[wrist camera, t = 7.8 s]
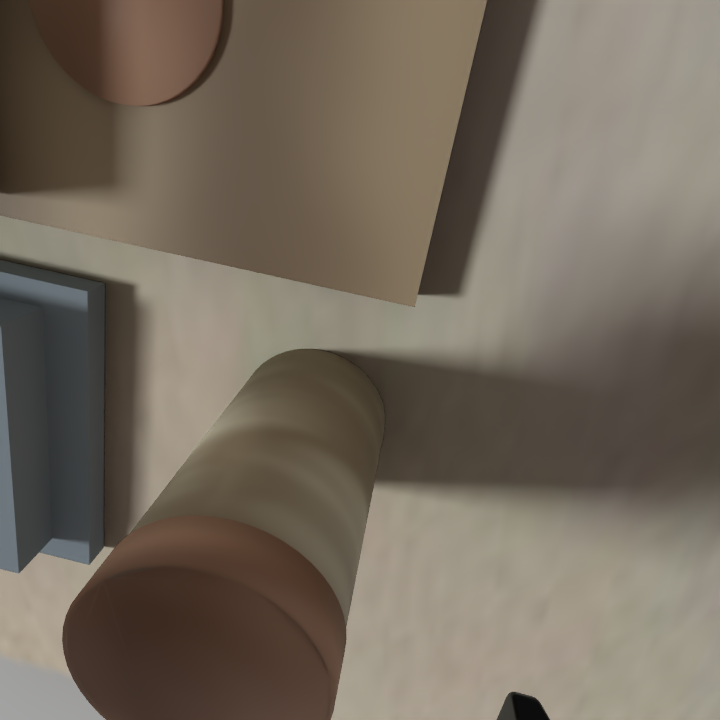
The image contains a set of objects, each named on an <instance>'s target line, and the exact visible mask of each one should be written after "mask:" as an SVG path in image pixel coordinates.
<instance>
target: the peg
mask: <svg viewBox="0 0 720 720" xmlns="http://www.w3.org/2000/svg"><path fill="white" fill-rule="evenodd" d="M384 429H385V412H384V406H383V403H382V399H381V397H380V395H379V393H378V391H377V389H376V387H375V386H374V384H373V383H372V381H371V380H370V379H369V378H368V376H367V375H366V374H365V373H364V372H363V371H362V370H361V369H359V368H358V367H357V366H355V365H354V364H353V363H351V362H350V361H348V360H346V359H344V358H343V357H340V356H338V355H336V354H333V353H329V352H326V351H321V350H315V349H298V350H292V351H287V352H284V353H281V354H278V355H276V356H274V357H272V358H270V359H269V360H267V361H266V362H265V363H263V364H262V365H261V366H260V367H259V368H258V369H257V370H256V371H255V372H254V374H253V375H252V376H251V377H250V379H249V380H248V381H247V383H246V384H245V385H244V386H243V388H242V389H241V390H240V392H239V393H238V394H237V396H236V397H235V398H234V399H233V401H232V402H231V403H230V405H229V406H228V407H227V408H226V410H225V411H224V412H223V414H222V415H221V416H220V418H219V419H218V420H217V421H216V423H215V424H214V425H213V427H212V428H211V429H210V431H209V432H208V433H207V434H206V436H205V437H204V438H203V440H202V441H201V442H200V443H199V445H198V446H197V447H196V449H195V450H194V451H193V453H192V454H191V455H190V456H189V458H188V459H187V460H186V462H185V463H184V464H183V465H182V467H181V468H180V469H179V471H178V472H177V473H176V475H175V476H174V477H173V478H172V480H171V481H170V482H169V484H168V485H167V486H166V488H165V489H164V490H163V491H162V493H161V494H160V495H159V497H158V498H157V499H156V500H155V502H154V503H153V504H152V506H151V507H150V508H149V510H148V511H147V512H146V513H145V515H144V516H143V517H142V519H141V520H140V521H139V522H138V524H137V525H136V526H135V528H134V529H133V530H132V532H131V533H130V534H129V535H127V536H126V537H125V538H124V539H123V540H122V541H121V542H120V543H119V544H118V545H117V546H116V547H115V548H114V550H113V551H112V552H111V553H110V555H109V556H108V557H107V558H106V560H105V561H104V562H103V564H102V565H101V566H100V567H99V569H98V570H97V571H96V573H95V574H94V575H93V576H92V578H91V579H90V580H89V581H88V583H87V584H86V585H85V587H84V588H83V589H82V590H81V592H80V593H79V594H78V596H77V597H76V598H75V600H74V601H73V602H72V604H71V606H70V608H69V610H68V612H67V614H66V618H65V622H64V626H63V637H62V642H63V650H64V655H65V659H66V662H67V666H68V668H69V671H70V673H71V675H72V677H73V679H74V681H75V683H76V684H77V686H78V688H79V689H80V691H81V692H82V694H83V695H84V696H85V697H86V699H87V700H88V701H89V703H90V704H91V705H92V706H93V707H94V708H95V709H96V710H97V711H98V712H99V713H100V715H102V716H103V717H104V718H105V719H106V720H330V719H331V716H332V713H333V710H334V705H335V700H336V694H337V689H338V684H339V678H340V673H341V668H342V663H343V657H344V652H345V645H346V625H347V620H348V615H349V610H350V605H351V600H352V594H353V589H354V584H355V579H356V574H357V569H358V564H359V559H360V553H361V548H362V543H363V538H364V533H365V528H366V523H367V517H368V512H369V507H370V502H371V497H372V492H373V487H374V482H375V476H376V471H377V466H378V461H379V456H380V451H381V446H382V440H383V435H384Z"/></svg>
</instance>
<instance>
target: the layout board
mask: <svg viewBox="0 0 720 720" xmlns="http://www.w3.org/2000/svg"><path fill="white" fill-rule="evenodd" d="M486 3H487V0H0V215H1V216H6V217H10V218H15V219H19V220H24V221H28V222H33V223H37V224H42V225H46V226H51V227H55V228H60V229H64V230H69V231H73V232H78V233H82V234H87V235H91V236H96V237H100V238H105V239H109V240H114V241H119V242H123V243H128V244H132V245H137V246H141V247H146V248H150V249H155V250H159V251H164V252H168V253H173V254H177V255H182V256H186V257H191V258H195V259H200V260H204V261H209V262H213V263H218V264H222V265H227V266H231V267H236V268H240V269H245V270H249V271H254V272H258V273H263V274H268V275H272V276H277V277H281V278H286V279H290V280H295V281H299V282H304V283H308V284H313V285H317V286H322V287H326V288H331V289H335V290H340V291H344V292H349V293H353V294H358V295H362V296H367V297H371V298H376V299H380V300H385V301H389V302H394V303H398V304H403V305H408V306H412V307H415V303H416V299H417V295H418V291H419V286H420V282H421V278H422V274H423V269H424V265H425V261H426V257H427V252H428V248H429V244H430V240H431V236H432V231H433V227H434V223H435V219H436V214H437V210H438V206H439V202H440V198H441V193H442V189H443V185H444V181H445V176H446V172H447V168H448V164H449V159H450V155H451V151H452V147H453V143H454V138H455V134H456V130H457V126H458V121H459V117H460V113H461V109H462V104H463V100H464V96H465V92H466V88H467V83H468V79H469V75H470V71H471V66H472V62H473V58H474V54H475V50H476V45H477V41H478V37H479V33H480V28H481V24H482V20H483V16H484V11H485V7H486Z"/></svg>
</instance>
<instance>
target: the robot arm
mask: <svg viewBox="0 0 720 720" xmlns="http://www.w3.org/2000/svg"><path fill="white" fill-rule="evenodd" d="M497 720H550V719H549V717H548V716H547V714H546V712H545V710H544V709H543V707H542V705H541V703H540V702H539V701H538V700H537V699H536V698H535V697H532V696H529V695H525V694H521V693H517V692H510V693H509V694H508V695H507V697H506V699H505V702H504V704H503V706H502V709H501V711H500V713H499V716H498V718H497Z"/></svg>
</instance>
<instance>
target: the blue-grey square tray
mask: <svg viewBox="0 0 720 720" xmlns="http://www.w3.org/2000/svg"><path fill="white" fill-rule="evenodd" d="M104 367H105V283H101V282H96V281H92V280H87V279H83V278H79V277H74V276H70V275H65V274H61V273H56V272H52V271H48V270H43V269H39V268H34V267H30V266H25V265H21V264H17V263H12V262H8V261H3V260H0V569H3V570H7V571H11V572H15V573H20V572H21V571H22V570H23V569H24V568H25V566H26V565H27V564H28V563H29V562H30V561H31V560H32V559H33V558H34V557H35V556H36V555H37V554H38V553H39V552H40V553H44V554H48V555H52V556H56V557H60V558H64V559H68V560H72V561H76V562H80V563H84V564H88V565H90V563H91V562H92V561H93V560H94V559H95V557H96V556H97V555H98V554H99V552H100V551H101V550H102V549H103V538H104Z"/></svg>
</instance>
